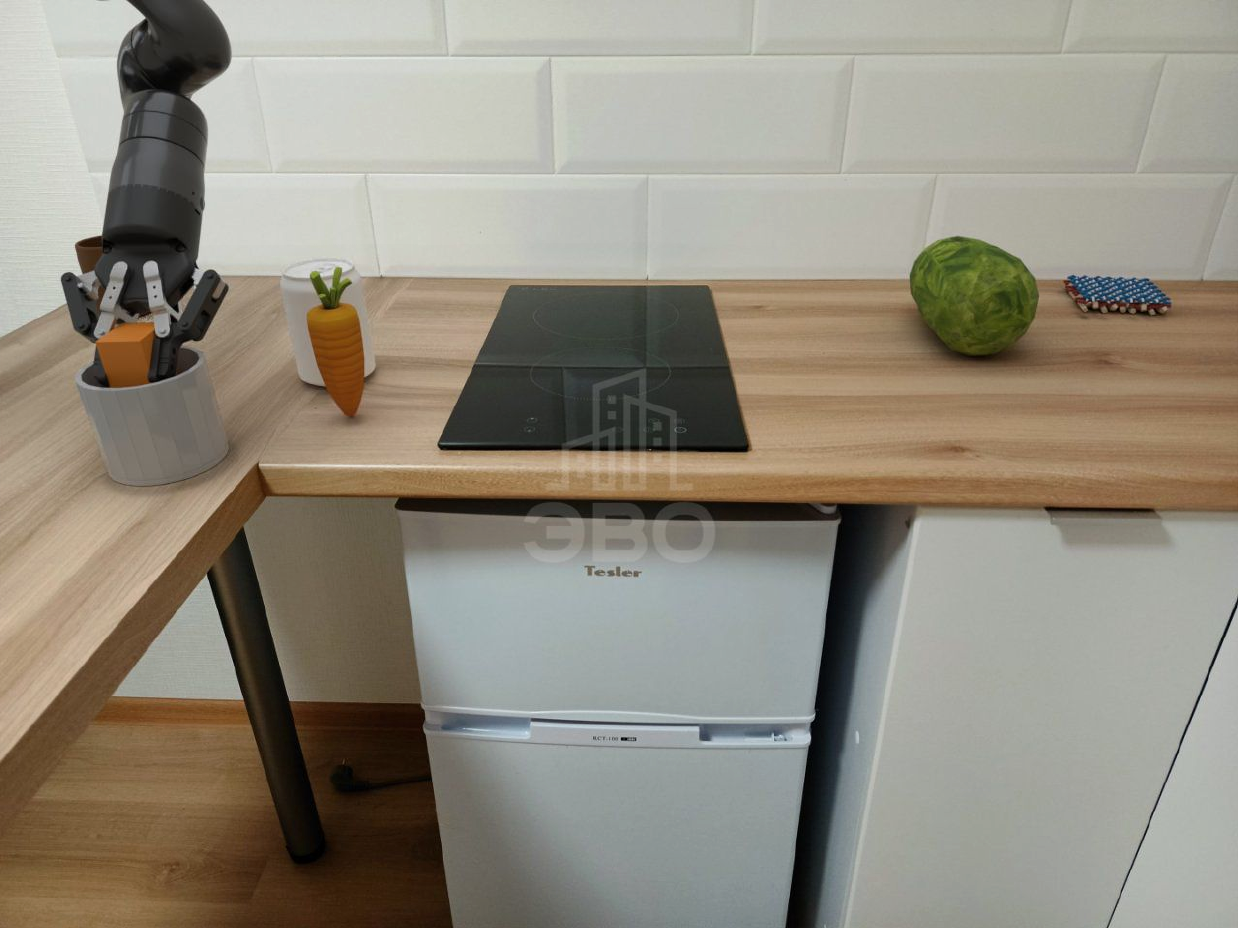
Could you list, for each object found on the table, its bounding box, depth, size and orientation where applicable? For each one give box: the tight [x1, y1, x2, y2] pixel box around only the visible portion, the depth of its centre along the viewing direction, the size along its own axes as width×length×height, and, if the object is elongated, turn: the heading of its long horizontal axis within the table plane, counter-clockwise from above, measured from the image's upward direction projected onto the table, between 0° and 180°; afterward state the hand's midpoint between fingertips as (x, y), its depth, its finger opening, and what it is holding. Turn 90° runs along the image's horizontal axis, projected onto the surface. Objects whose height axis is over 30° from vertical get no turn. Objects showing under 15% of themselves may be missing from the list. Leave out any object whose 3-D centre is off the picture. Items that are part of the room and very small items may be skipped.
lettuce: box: [909, 235, 1040, 357], centre depth 99 cm, size 12×21×11 cm, turn 2°
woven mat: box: [1062, 274, 1172, 316], centre depth 111 cm, size 10×11×2 cm
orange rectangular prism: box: [95, 321, 178, 388], centre depth 74 cm, size 4×5×10 cm
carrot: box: [307, 267, 365, 418], centre depth 81 cm, size 5×5×15 cm
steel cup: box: [74, 344, 230, 487], centre depth 76 cm, size 10×10×9 cm
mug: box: [74, 234, 151, 317], centre depth 113 cm, size 12×8×9 cm, turn 17°
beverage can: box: [279, 257, 377, 388], centre depth 91 cm, size 8×8×12 cm
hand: (133, 384), depth 72 cm, fingers closed on orange rectangular prism, 3 cm apart
